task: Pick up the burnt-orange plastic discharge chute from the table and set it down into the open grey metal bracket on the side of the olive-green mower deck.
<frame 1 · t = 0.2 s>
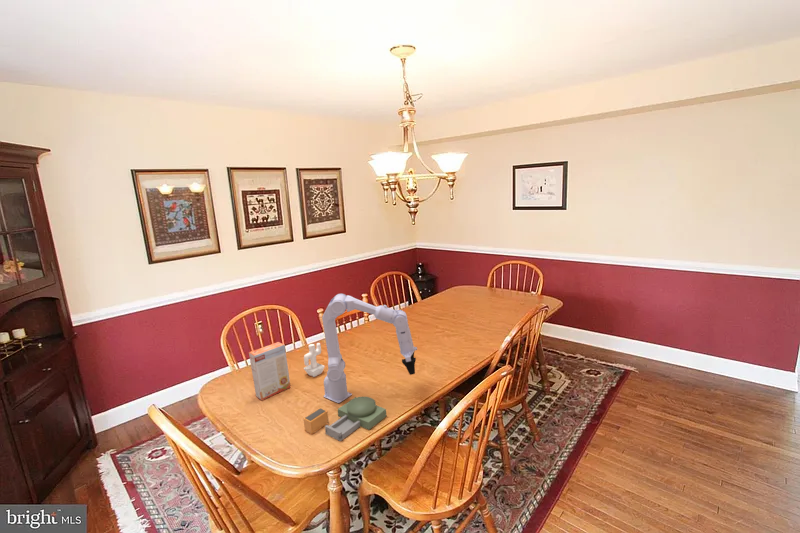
hand: (412, 369, 159), 10 cm above the table, tool pointing down, fingers open, 7 cm apart
figurine: (314, 374, 183), on the table
cracker box: (273, 392, 168), on the table
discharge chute: (316, 426, 142), on the table
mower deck: (353, 422, 143), on the table
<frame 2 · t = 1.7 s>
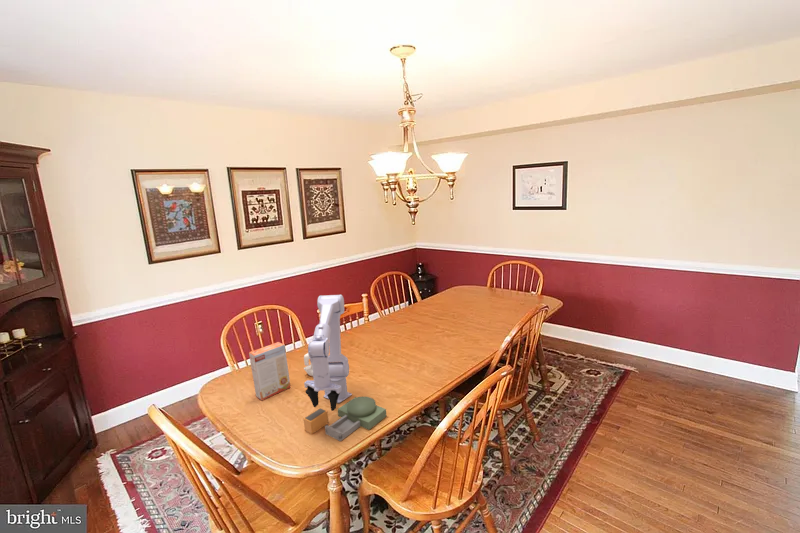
hand: (324, 407, 138), 9 cm above the table, tool pointing down, fingers open, 7 cm apart
nothing on the table moved.
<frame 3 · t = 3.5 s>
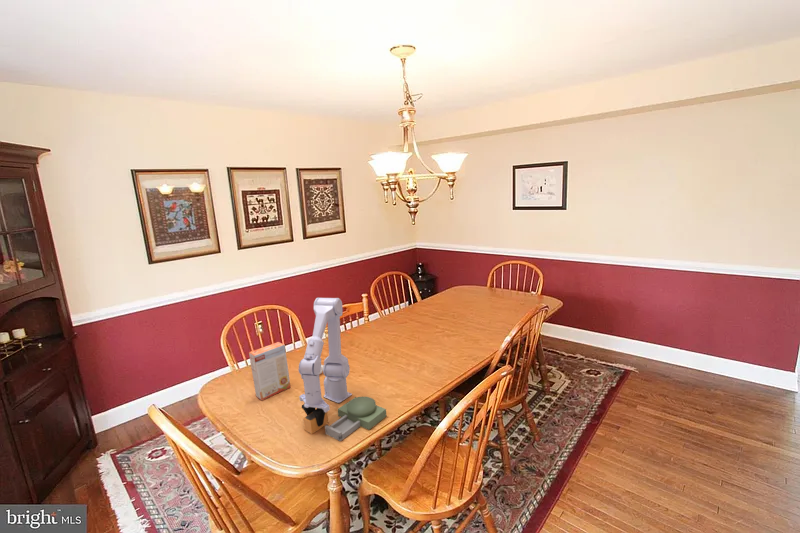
hand: (316, 423, 142), 1 cm above the table, tool pointing down, fingers closed on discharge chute, 4 cm apart
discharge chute: (316, 426, 142), on the table, touching gripper
everything else where it was.
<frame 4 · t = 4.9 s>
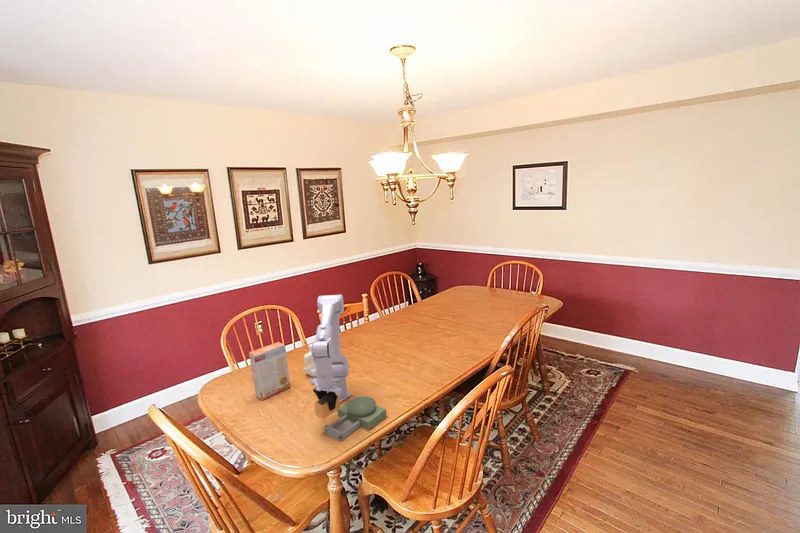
hand: (328, 407, 139), 8 cm above the table, tool pointing down, fingers closed on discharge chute, 4 cm apart
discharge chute: (328, 411, 139), point 7 cm above the table, touching gripper
everything else where it was.
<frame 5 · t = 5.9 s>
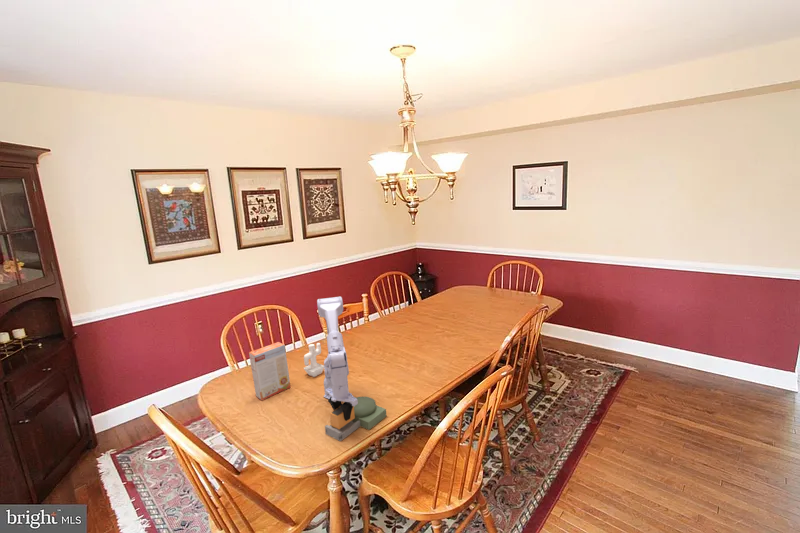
hand: (343, 417, 138), 5 cm above the table, tool pointing down, fingers closed on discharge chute, 4 cm apart
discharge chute: (343, 421, 139), point 3 cm above the table, touching gripper
everything else where it was.
when the fingers open (3 cm above the table, at t = 6.6 s): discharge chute drops 1 cm, resting on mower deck.
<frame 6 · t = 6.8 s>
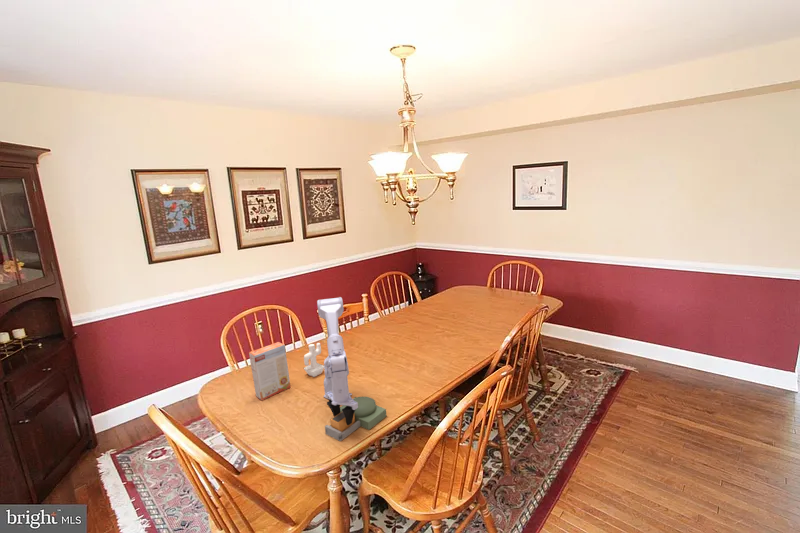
hand: (343, 420, 139), 3 cm above the table, tool pointing down, fingers open, 6 cm apart
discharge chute: (343, 428, 139), point 1 cm above the table, touching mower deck
everything else where it was.
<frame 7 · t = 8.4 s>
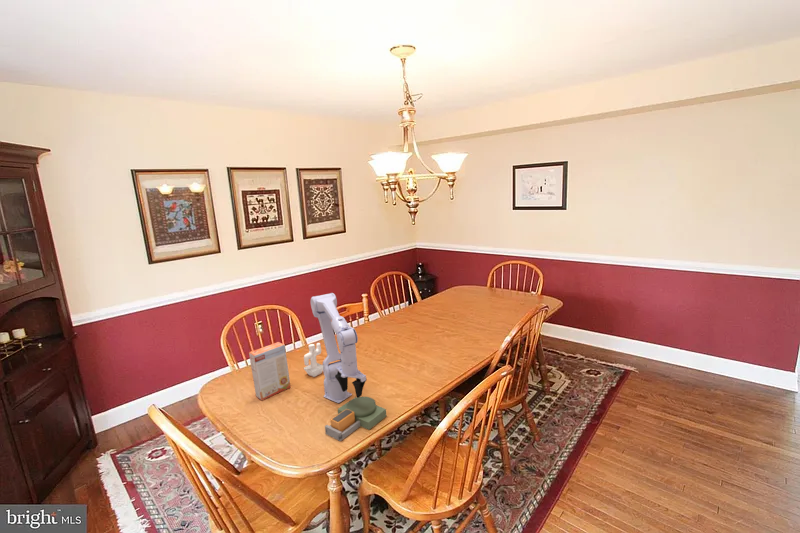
hand: (352, 393, 146), 9 cm above the table, tool pointing down, fingers open, 7 cm apart
nothing on the table moved.
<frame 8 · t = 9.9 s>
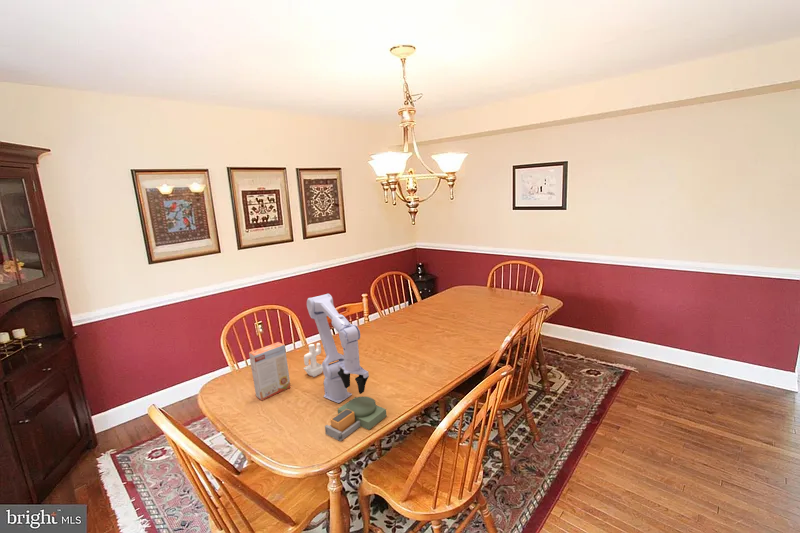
hand: (354, 389, 148), 9 cm above the table, tool pointing down, fingers open, 7 cm apart
nothing on the table moved.
at the end: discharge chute 0.2 cm from the target spot on the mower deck, point 0.6 cm above the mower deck's base; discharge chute tilted 0°; the gripper is holding nothing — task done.
